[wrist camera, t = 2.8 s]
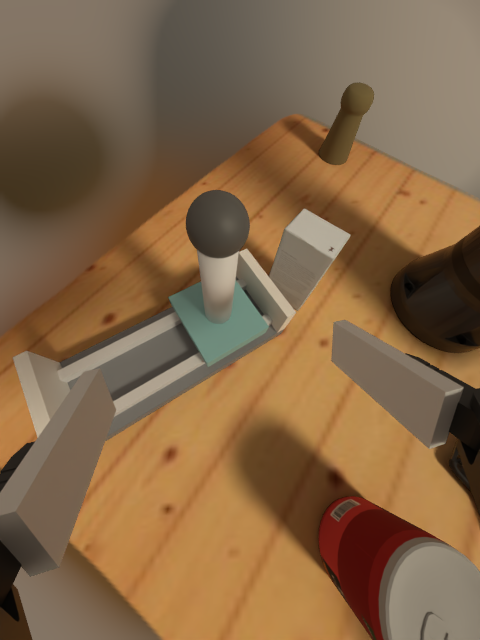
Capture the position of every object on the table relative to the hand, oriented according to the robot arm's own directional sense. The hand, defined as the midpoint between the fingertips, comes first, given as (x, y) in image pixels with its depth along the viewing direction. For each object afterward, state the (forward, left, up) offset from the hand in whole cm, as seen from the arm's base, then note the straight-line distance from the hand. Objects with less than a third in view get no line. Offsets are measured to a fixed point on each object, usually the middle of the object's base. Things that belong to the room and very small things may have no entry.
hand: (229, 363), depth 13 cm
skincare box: (-16, -8, -17) cm, 24 cm away
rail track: (+2, -8, -17) cm, 19 cm away
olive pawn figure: (-44, -29, -17) cm, 55 cm away
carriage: (-4, -8, -13) cm, 16 cm away
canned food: (-4, +19, -17) cm, 26 cm away
